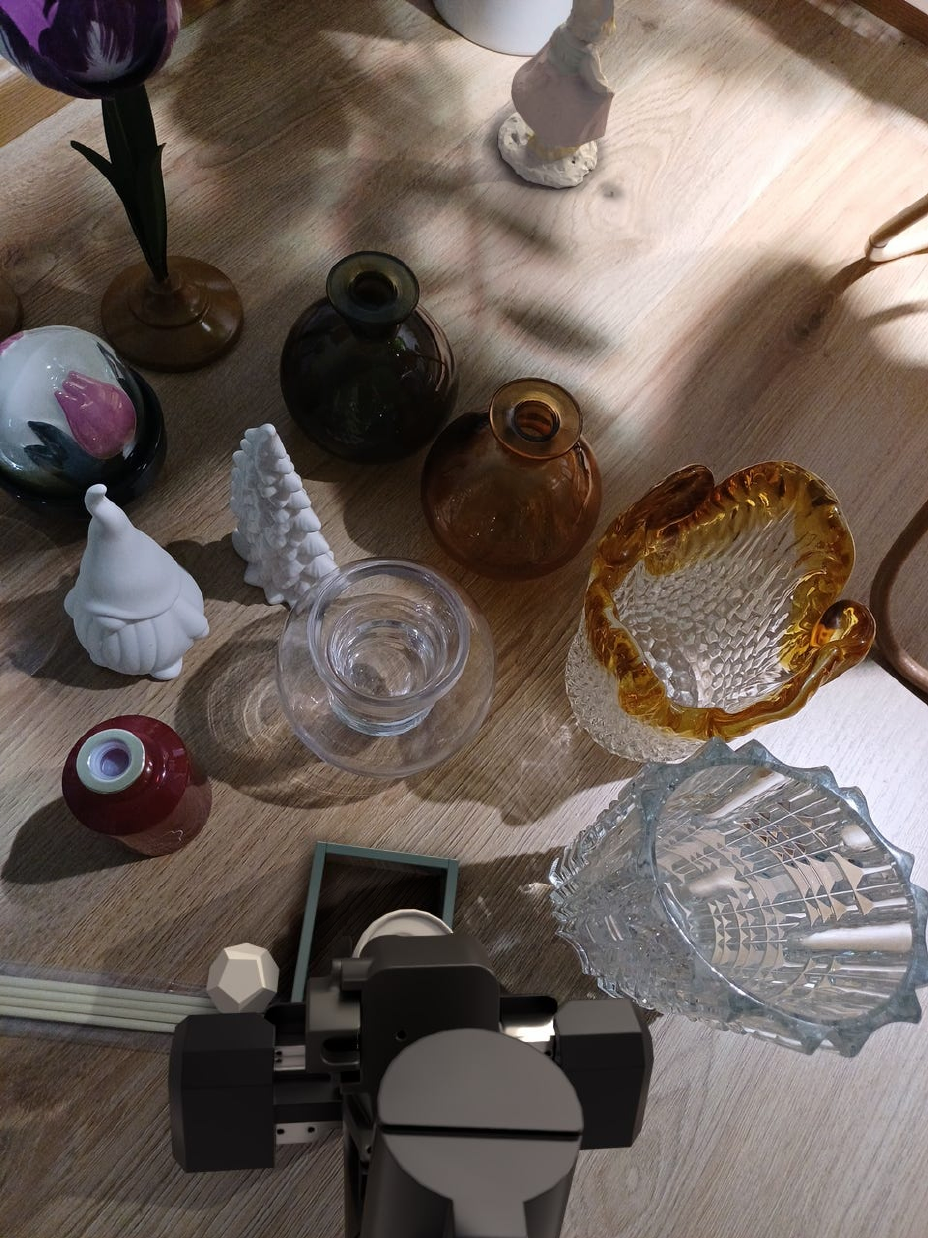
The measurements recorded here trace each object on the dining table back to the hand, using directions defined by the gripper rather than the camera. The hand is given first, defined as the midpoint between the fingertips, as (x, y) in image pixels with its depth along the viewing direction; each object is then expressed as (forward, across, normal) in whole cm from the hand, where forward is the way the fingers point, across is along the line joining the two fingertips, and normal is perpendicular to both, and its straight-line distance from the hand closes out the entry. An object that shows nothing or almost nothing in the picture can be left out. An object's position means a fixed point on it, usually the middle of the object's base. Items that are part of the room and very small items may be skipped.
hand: (400, 941), depth 49 cm
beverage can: (+4, 0, +6) cm, 7 cm away
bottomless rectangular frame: (+8, +1, +9) cm, 12 cm away
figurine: (+52, -15, -35) cm, 64 cm away
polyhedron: (+8, +8, +9) cm, 15 cm away
